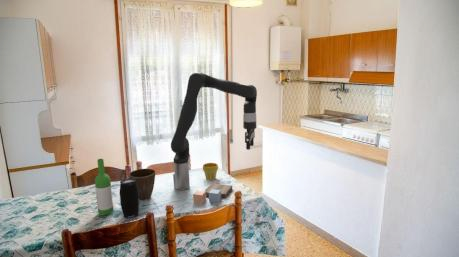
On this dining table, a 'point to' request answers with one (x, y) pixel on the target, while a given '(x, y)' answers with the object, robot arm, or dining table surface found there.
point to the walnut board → (224, 189)
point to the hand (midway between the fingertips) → (250, 147)
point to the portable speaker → (129, 197)
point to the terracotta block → (199, 197)
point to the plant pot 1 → (144, 182)
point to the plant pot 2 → (210, 170)
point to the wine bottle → (103, 190)
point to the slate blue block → (214, 195)
